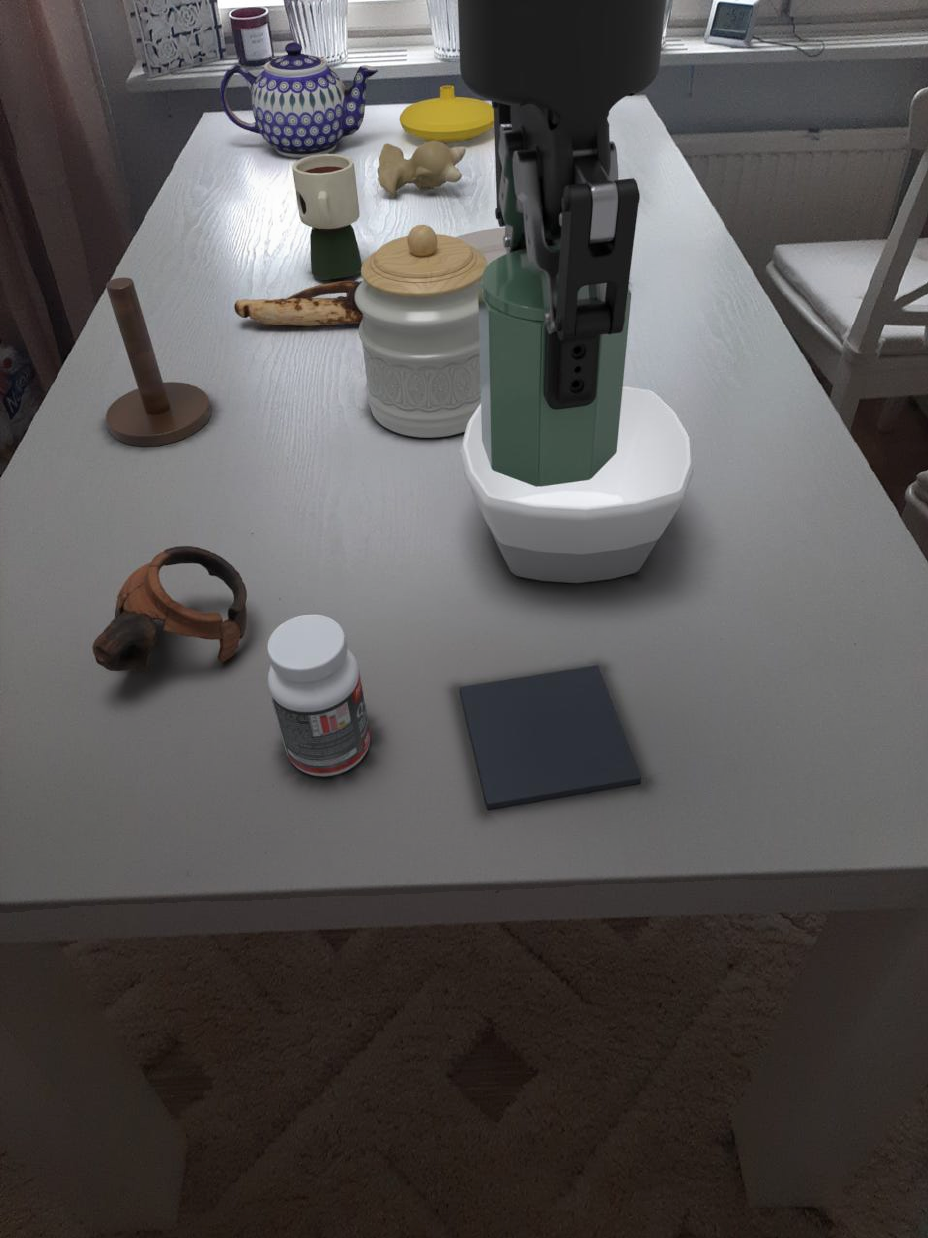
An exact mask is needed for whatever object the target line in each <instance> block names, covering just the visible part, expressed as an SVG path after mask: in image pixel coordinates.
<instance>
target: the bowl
mask: <svg viewBox="0 0 928 1238" xmlns="http://www.w3.org/2000/svg"><path fill="white" fill-rule="evenodd" d="M459 456H460V460H461V464H462V468H463V473H464V476H465V481H466V482H467V485H468V486H469V489H470V491H471V493H472V495H473V497H474V499H475V502H476V504H477V506H478V509H479V510H480V512H481V515H482V517H483V519H484V521H485V523H486V524H487V527H488V528H489V530H490V532H491V534H492V536H493V539H494V541H495V544H496V545H497V548H498V549H499V552H500V554H501V556H502V558H503V559H504V561H505V563H506V566H507V567H508V569H509V571H510V573H512V574H513V575H514V576H516V577H519V578H524V579H531V580H535V581H542V582H554V583H569V584H582V583H591V582H597V581H605V580H612V579H613V580H614V579H617V578H621V577H624V576H629V575H632V574H636V573H638V572H639V571H640V569H641V568H642V567H643V565H644V563H645V562H646V561H647V559H648V557H649V555H650V554H651V552H652V551H653V549H654V548H655V546H656V544H657V542H658V541H659V540H660V538H661V536H662V535H663V534H664V532H665V531H666V529H667V527H668V526H669V524H670V523H671V521H672V519H673V518H674V516H675V515H676V513H677V512H678V510H679V508H680V506H681V504H682V503H683V502H684V500H685V497H686V496H687V495H686V494H687V492H688V489H689V486H690V483H691V480H692V478H693V475H694V459H693V443H692V439H691V437H690V436H689V434H688V432H687V430H686V428H685V427H684V425H683V423H682V422H681V419H680V418H679V416H678V415H677V413H676V412H675V411H674V410H673V409H672V408H671V407H670V406H669V405H668V404H667V403H666V402H665V401H664V400H663V399H662V398H661V397H660V396H659V395H657V394H656V392H654V391H653V390H649V389H644V388H639V387H638V388H636V387H632V386H625V385H623V389H622V400H621V411H620V421H619V432H618V442H617V452H616V454H615V455H614V456H613V457H612V458H611V459H610V460H609V461H608V462H607V463H606V464H605V465H604V466H603V467H602V468H601V469H600V470H599V471H598V473H597V474H596V475H595V476H594V477H593V478H592V479H590V480H585V481H578V482H570V483H563V484H556V485H549V486H542V487H539V486H538V487H536V486H533V485H530V484H528V483H525V482H522V481H520V480H517V479H514V478H512V477H509V476H506V475H504V474H501V473H498V472H496V471H493V470H492V468H491V465H490V463H489V460H488V457H487V454H486V451H485V448H484V445H483V442H482V422H481V404H480V405H479V407H478V408H477V409H476V411H475V412H474V414H473V415H472V417H471V418H470V420H469V421H468V423H467V427H466V430H465V432H464V435H463V438H462V442H461V446H460V451H459Z"/></svg>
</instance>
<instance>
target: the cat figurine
mask: <svg viewBox="0 0 928 1238" xmlns="http://www.w3.org/2000/svg"><path fill="white" fill-rule="evenodd" d="M466 151H467V149H466V147H465V146H464V145H462V146H453V147H451V148H450V147H448V146H447V145H446V143H442V142H439V141H426V142H424V143H422V144H421V145H419V146H418V147H417V148H415V150H414V152H413V153H412V155H411V157H410V158H409V159H406V158H405V156H404V152H403V150H402V149H401V148H400V147H398V146H396V145H393V144H391V143H384V144H383V146H382V149H381V151H380V154H379V156H378V167H377V169H376V170H377V175H378V177H377V181H378V184H379V186H380V187H381V188H383V190H385V191H386V192H387V193H388V194H389V195H391V196H392V197H393V198H394V199H396V198H397V196H398V191H399V190H400V189H402V188H403V187H405V186H406V185H408V184H411V185H412V184H413V185H414V186H415V187H416V188H417V189H418V190H419V191H424V190H428V191H430V190H434V189H436V188H438V187H441V186H442V185H444V184H445V183H447V182H448V183H457V182H459V181H460V180H462V177H463V176H462V175H463V174H462V172H461V171H460V170H459V168H457V167H456V165H457V164H459V163H460V162H461V161H462V160H463V158H464V157H465V155H466Z"/></svg>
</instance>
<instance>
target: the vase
mask: <svg viewBox="0 0 928 1238" xmlns="http://www.w3.org/2000/svg"><path fill="white" fill-rule="evenodd" d="M399 123H400V125H401V128H402V129H403V130H404V132H406V133H408V134H409V135H412V136H413V137H416V138H418V139H420V140H423V141H426V142H429V141H439V142H442V143H443V144H446V143H458V142H464V141H469V140H472V139H475V138H477V137H479V136H480V135H482V134H484V133H485V132H487V131H489V130H490V129H492V128H494V108H493V107H492V104H490V103H489V102H487V101H485V100H482V99H478V98H472V97H464V96H463V97H462V96H456V95H455V86H453V85H442V86H440V87H439V97H434V98H429V99H424V100H420V101H417V102H414V103H411V104H410V105H407V107H405V108H404V109H403V111H402V112H401V113H400V115H399Z"/></svg>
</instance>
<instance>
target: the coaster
mask: <svg viewBox="0 0 928 1238" xmlns="http://www.w3.org/2000/svg"><path fill="white" fill-rule="evenodd" d="M459 695H460V699H461V704H462V708H463V712H464V717H465V721H466V726H467V729H468V734H469V738H470V743H471V748H472V751H473V755H474V759H475V764H476V765H475V766H476V769H477V773H478V778H479V781H480V785H481V790H482V793H483V799H484V802H485V803H484V804H485V807H486V810H492V809H497V808H504V807H508V806H515V805H520V804H526V803H527V804H528V803H532V802H533V803H534V802H537V801H538V802H539V801H543V800H549V799H555V798H561V797H566V796H572V795H579V794H585V793H590V792H596V791H601V790H602V791H603V790H608V789H614V788H620V787H624V786H625V787H627V786H630V785H636V784H641V781H642V776H641V774H640V770H639V768H638V765H637V763H636V760H635V758H634V755H633V752H632V750H631V747H630V745H629V742H628V740H627V738H626V735H625V732H624V729H623V726H622V724H621V722H620V719H619V716H618V714H617V711H616V708H615V706H614V704H613V701H612V699H611V696H610V693H609V690H608V688H607V686H606V683H605V679H604V678H603V675H602V673H601V670H600V667H599V665H590V666H584V667H578V668H572V669H565V670H559V671H553V672H552V671H551V672H546V673H541V674H540V673H539V674H534V675H529V676H521V677H514V678H509V679H508V678H507V679H501V680H497V681H496V680H494V681H490V682H482V683H477V684H470V685H465V686H459Z"/></svg>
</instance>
